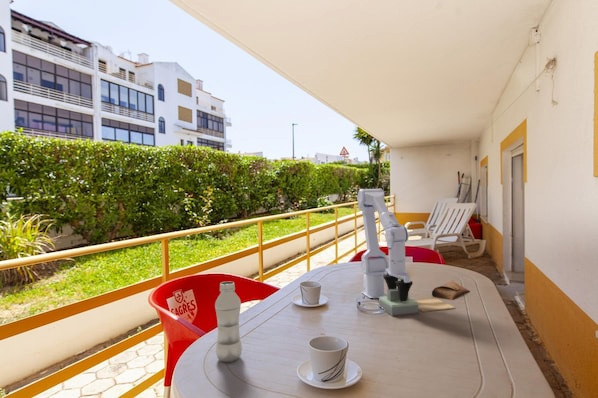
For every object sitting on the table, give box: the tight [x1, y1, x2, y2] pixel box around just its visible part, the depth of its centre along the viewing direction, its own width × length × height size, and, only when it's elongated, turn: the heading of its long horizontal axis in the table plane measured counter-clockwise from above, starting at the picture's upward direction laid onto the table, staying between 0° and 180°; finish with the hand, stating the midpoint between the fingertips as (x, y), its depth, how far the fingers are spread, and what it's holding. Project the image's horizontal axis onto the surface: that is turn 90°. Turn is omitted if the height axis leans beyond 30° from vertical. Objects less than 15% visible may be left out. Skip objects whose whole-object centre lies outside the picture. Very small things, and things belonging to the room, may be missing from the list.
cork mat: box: [413, 296, 456, 313], centre depth 131 cm, size 13×13×1 cm
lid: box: [378, 288, 418, 307], centre depth 126 cm, size 10×10×5 cm
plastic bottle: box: [214, 281, 243, 363], centre depth 92 cm, size 6×7×20 cm
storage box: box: [378, 298, 419, 317], centre depth 126 cm, size 10×10×3 cm
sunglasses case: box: [431, 280, 470, 301], centre depth 145 cm, size 18×7×7 cm
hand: (397, 297), depth 126 cm, fingers open, 7 cm apart
